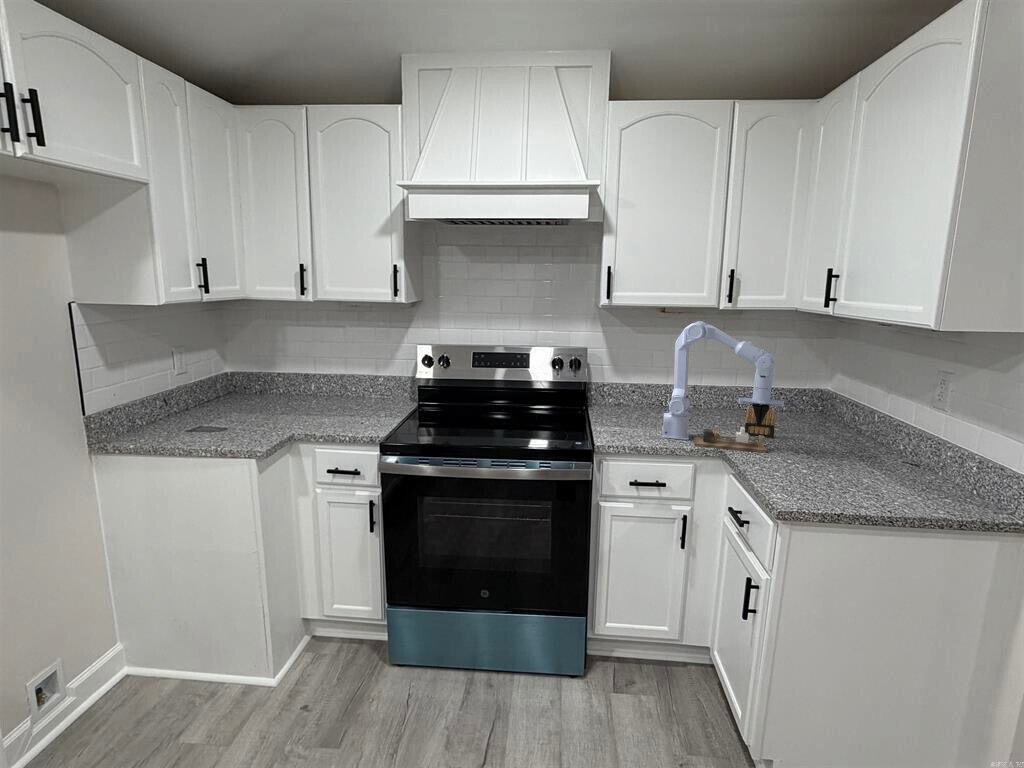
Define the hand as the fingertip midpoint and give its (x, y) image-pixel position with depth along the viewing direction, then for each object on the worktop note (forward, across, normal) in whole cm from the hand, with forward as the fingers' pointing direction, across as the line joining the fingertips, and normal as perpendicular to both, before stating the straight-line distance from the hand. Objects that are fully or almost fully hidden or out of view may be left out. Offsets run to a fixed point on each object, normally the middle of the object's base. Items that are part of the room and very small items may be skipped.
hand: (758, 424), depth 196 cm
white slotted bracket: (+6, -5, 0) cm, 8 cm away
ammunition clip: (+9, +3, +17) cm, 19 cm away
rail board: (+9, -9, 0) cm, 13 cm away
